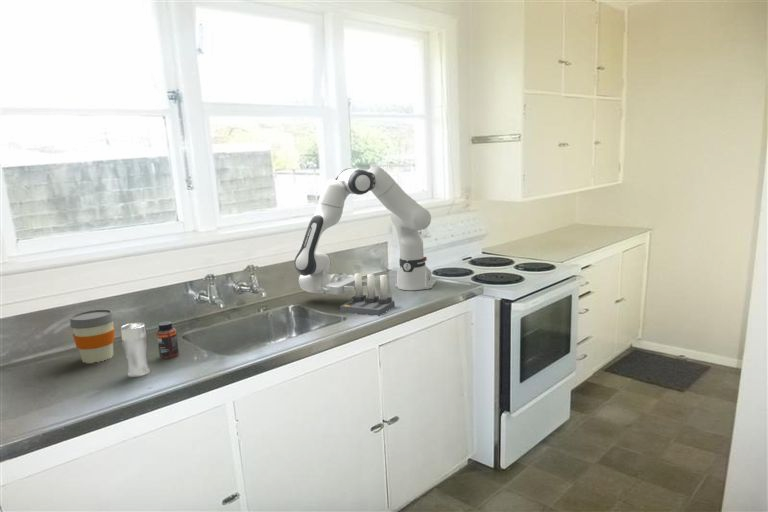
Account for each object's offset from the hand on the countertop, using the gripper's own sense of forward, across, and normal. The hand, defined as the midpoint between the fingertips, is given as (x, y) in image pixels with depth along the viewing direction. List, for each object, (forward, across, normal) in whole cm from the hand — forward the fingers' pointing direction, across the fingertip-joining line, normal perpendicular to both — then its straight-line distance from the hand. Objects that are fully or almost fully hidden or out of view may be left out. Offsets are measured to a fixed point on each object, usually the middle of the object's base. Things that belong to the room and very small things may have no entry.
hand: (360, 286), depth 220 cm
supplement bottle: (-32, -73, +9) cm, 80 cm away
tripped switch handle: (-1, 0, +6) cm, 6 cm away
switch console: (+5, -4, +8) cm, 11 cm away
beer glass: (-29, -87, +9) cm, 92 cm away
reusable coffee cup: (-54, -83, +9) cm, 99 cm away
